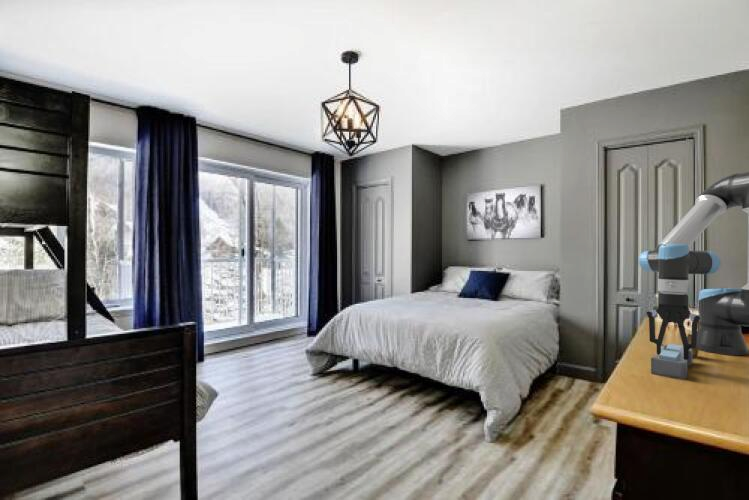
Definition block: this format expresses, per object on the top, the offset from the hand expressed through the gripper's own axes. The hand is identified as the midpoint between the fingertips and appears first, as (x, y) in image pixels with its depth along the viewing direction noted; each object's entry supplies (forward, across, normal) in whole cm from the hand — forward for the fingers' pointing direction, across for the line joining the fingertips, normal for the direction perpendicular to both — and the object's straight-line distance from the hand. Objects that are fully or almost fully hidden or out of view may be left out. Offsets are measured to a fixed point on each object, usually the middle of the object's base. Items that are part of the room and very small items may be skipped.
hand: (672, 367), depth 120 cm
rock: (0, +3, +22) cm, 22 cm away
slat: (0, 0, 0) cm, 0 cm away
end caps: (0, 0, 0) cm, 0 cm away
